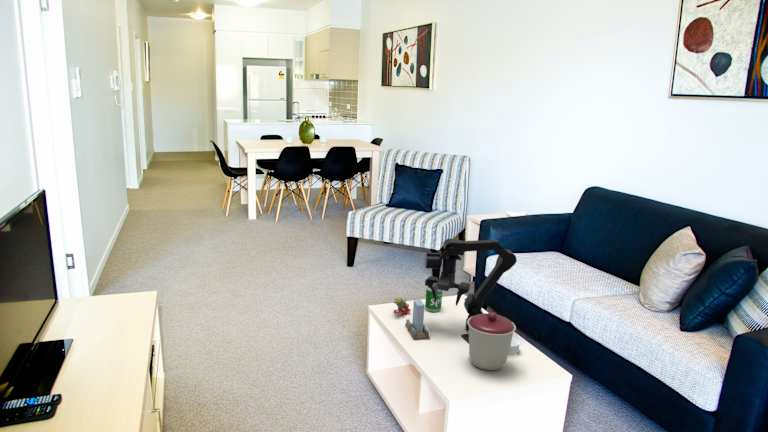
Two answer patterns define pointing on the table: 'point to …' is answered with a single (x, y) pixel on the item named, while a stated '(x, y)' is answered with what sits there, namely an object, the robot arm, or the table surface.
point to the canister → (489, 340)
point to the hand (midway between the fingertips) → (446, 303)
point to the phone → (465, 337)
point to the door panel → (418, 316)
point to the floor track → (414, 334)
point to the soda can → (433, 300)
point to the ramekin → (514, 347)
